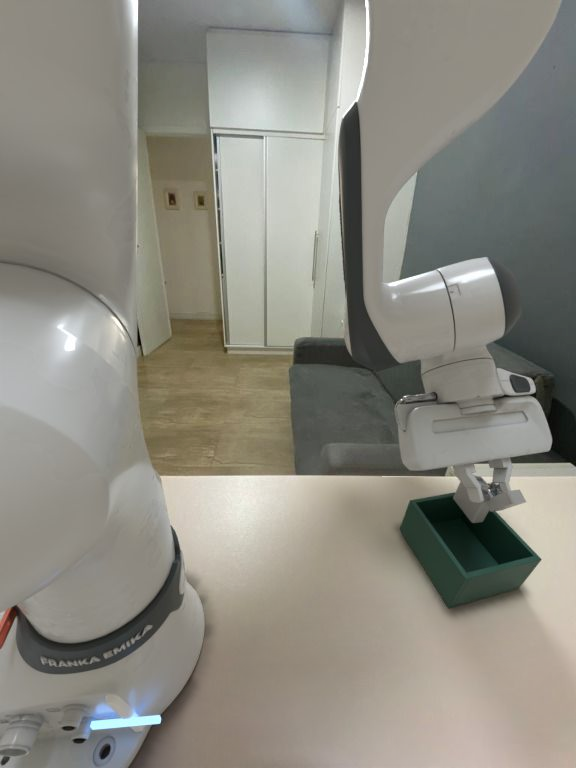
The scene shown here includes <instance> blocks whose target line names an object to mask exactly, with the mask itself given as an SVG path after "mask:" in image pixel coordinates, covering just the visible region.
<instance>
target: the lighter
mask: <svg viewBox="0 0 576 768" xmlns="http://www.w3.org/2000/svg"><path fill="white" fill-rule="evenodd" d="M473 475H474V477H475V478H476V479H477V481H478V482H479V483H480V485H481V486H487V487H488V491H489V493H488V494H489V495H490V501H487V502H483V503H474V502H471V501H470V499H469V496H468V492H467V488H466V487H465V486H464V485H463V484H462V483H461V481H460V480H459V484H458V486H457V488H456V490H455V491H454V492H455V495H454V497H453V499H454V500H455V502H456V503H457V504H458V506H459V507H460V508H461V509H462V511H463V512H464V513H465V515H466V516H467V517H468V519H469V520H470V521H471V522H472V523H478V522H483V521H484V519H485V517H486V515H487V513H488V512H489V510H490V512H492V511H496V512H499V511H500V512H501V511H505V510H507V509H511V508H513V507H516V506H518V505H522V504H524V503H527V501H526V498H525V496H524V495H523V493H522V491H521V489H514V490H511V491H506V492H504V493H501V494H499V495H496V496H493V495H492V494H491V493H490V489H489V488H490V486H489V485H488V484H487V483H488V482H486V480H485V479H484V478H483V477H482V476H481V475H480V476H478V475H475V474H473Z"/></svg>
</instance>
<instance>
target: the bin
mask: <svg viewBox="0 0 576 768" xmlns="http://www.w3.org/2000/svg"><path fill="white" fill-rule="evenodd" d="M455 492H456V491H454V492H448V493H443V494H437V495H431V496H427V497H421V498H416V499H410V500H409V503H408V505H407V507H406V509H405V510H406V511H405V512H404V516H403V518H402V521H401V524H400V526H399V530H400V532H401V533H402V535H403V537H404V538H405V540H406V542H407V543H408V545H409V547H410V548H411V550H412V552H413V553H414V555H415V556H416V558H417V559H418V561H419V563H420V565H421V566H422V568H423V570H424V571H425V572H426V574H427V576H428V578H429V580H430V581H431V583H432V584H433V586H434V587H435V589H436V591H437V592H438V594H439V596H440V597H441V599H442V600H443V602H444V604H445V605H446V607H447V608H448V609H450V608H453V607H458V606H461V605H464V604H467V603H472V602H475V601H478V600H482V599H486V598H489V597H492V596H496V595H500V594H504V593H507V592H510V591H514V590H518V589H520V588H521V587H522V586H523V584H524V583H525V582H526V581H527V579H528V578H529V577H530V576H531V574H532V573H533V571H534V570H535V569H536V568H537V566H538V565H539V564H540V563H541V561H542V560H543V559H542V558H541V557H540V556H539V554H537V553H536V552H535V550H533V548H532V547H530V545H529V544H528V543H527V542H526V541H525V540H524V539H523V538H522V537H521V536H520V535H519V534H518V533H517V532H516V531H515V530H514V529H513V528H512V526H510V524H509V523H508V522H506V521H505V519H504V518H503V517H502V516H501V515H500V514H499V513H498V511H492V512H490V510H489V512H488V513H487V515H486V517H485V519H484V521H483V522H478V523H472V522H471V521H470V520H469V519H468V517H467V516H466V515H465V513H464V512H463V511H462V509H461V508H460V507H459V506H458V504H457V503H456V502H455V500H454V499H453V497H454V495H455Z"/></svg>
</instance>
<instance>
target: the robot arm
mask: <svg viewBox="0 0 576 768" xmlns="http://www.w3.org/2000/svg"><path fill="white" fill-rule="evenodd" d="M562 2H563V0H365V8H366V9H365V10H366V48H365V57H364V65H363V70H362V76H361V80H360V84H359V88H358V91H357V96H356V98H355V100H354V101H353V102H352V103H351V105H350V106H349V107H348V108H347V110H346V111H345V113H344V114H343V115H342V117H341V121H340V125H339V126H340V127H339V134H338V145H337V172H338V174H337V175H338V193H339V194H338V210H339V211H338V212H339V226H340V238H341V239H340V240H341V241H340V243H341V255H342V256H341V257H342V271H343V272H342V273H343V282H344V296H345V297H344V298H345V300H344V307H343V316H342V333H343V339H344V344H345V347H346V349H347V351H348V353H349V355H350V356H351V359H352V361H354V362H355V363H357V364H359V365H361V366H363V367H365V368H366V369H369V370H371V371H374V372H377V373H379V372H382V371H385V370H388V369H392V368H394V367H399V366H402V365H403V364H406V363H410V362H414V361H419V360H420V361H419V362H420V377H421V381H422V384H423V390H424V393H420V394H406V395H403V396H402V397H401V399H399V400H398V401H397V402H396V404H395V406H394V411H393V412H394V417H395V420H396V424H397V430H398V431H397V432H398V445H399V446H398V447H399V453H400V459H401V462H402V464H403V466H404V467H405V468H406V469H408V471H412V472H413V471H415V472H420V471H421V472H422V471H430V470H437V469H443V468H450V467H452V470H453V474H454V475H455V477H456V478H457V479H458V480H459V482H460V481H461V483H462V484H463V485H464V486H465V487H466V488H467V492H468V496H469V499H470V501H471V502H474V503H483V502H487V501H490V495H489V494H488V493H489V492H490V493H491V494H492V495H493V496H496V495H499V494H501V493H504V492H506V491H512V490H511V489H512V488H511V485H510V481H511V476H512V472H513V467H514V466H513V462H512V459H511V458H514V457H520V456H521V457H522V456H528V455H533V454H541V453H546V452H550V450H551V448H552V444H553V436H552V432H551V429H550V426H549V423H548V420H547V417H546V415H545V411H544V410H543V407H542V405H541V403H540V402H539V401H538V399H537V398H536V397H534V396H533V395H534V394H535V393H536V391H537V389H536V388H537V387H536V385H535V382H534V380H533V379H532V378H531V377H530V376H529V377H528V376H526V375H521V374H518V373H514V372H511V371H509V370H506V369H503V368H501V367H496V362H495V360H494V358H493V356H492V354H491V353H490V352H489V349H488V347H487V345H489V344H492V343H493V342H497V341H500V340H501V339H503V338H504V337H505V336H507V334H508V333H509V332H510V331H511V330H512V329H513V327H514V326H515V325H516V323H517V322H518V320H519V318H520V317H521V316H522V313H523V302H522V301H523V300H522V297H521V293H520V290H519V286H518V283H517V280H516V278H515V276H514V274H513V272H512V271H511V270H510V269H509V268H508V267H507V266H505V265H504V264H502V263H501V262H500V261H497V260H495V259H494V258H491V257H489V256H488V257H487V256H482V257H476V258H471V259H467V260H462V261H458V262H455V263H451V264H448V265H444V266H442V267H439V268H438V267H437V268H435V269H434V270H430V271H427V272H424V273H420V274H417V275H413V276H410V277H405V278H402V279H399V280H396V281H391V282H383V273H384V249H385V248H384V244H385V225H386V218H387V215H388V212H389V209H390V207H391V205H392V203H393V201H394V200H395V198H396V196H397V195H398V193H399V192H400V191H401V190H402V188H403V187H404V186H405V185H406V184H407V183H408V182H409V181H410V179H411V178H413V176H414V175H415V174H416V173H418V171H420V170H421V169H422V168H423V167H424V166H425V165H426V164H427V163H428V162H430V160H432V159H433V158H434V157H435V156H436V155H437V154H439V153H440V152H441V151H443V149H445V148H446V147H447V146H448V145H450V144H451V143H452V142H454V141H455V140H456V139H457V138H459V137H460V136H462V134H464V133H465V132H466V131H468V129H470V128H472V126H473V125H474V124H476V123H477V122H478V121H479V120H481V119H482V118H483V116H485V114H487V113H488V112H489V111H490V110H491V109H492V108H493V107H494V106H495V105H496V104H497V103H498V102H499V101H500V99H501V98H503V96H504V95H505V94H506V93H507V92H508V91H509V90H510V88H511V87H512V86H513V85H514V84H515V82H516V81H517V80H518V79H519V78H520V77H521V75H522V74H523V72H524V71H525V69H526V68H527V67H528V65H529V64H530V63H531V61H532V60H533V58H534V57H535V55H536V54H537V52H538V50H539V49H540V47H541V45H542V44H543V43H544V40H545V39H546V38H547V36H548V33H549V32H550V30H551V28H552V26H553V25H554V23H555V20H556V19H557V15H558V13H559V11H560V7H561V5H562ZM138 123H139V0H0V768H129V767H130V765H132V763H133V761H134V759H135V758H136V756H137V754H138V753H139V751H140V749H141V747H142V746H143V744H144V741H145V739H146V737H147V735H148V734H149V732H150V729H151V728H152V727H153V725H159V724H161V721H162V717H161V715H162V714H163V713H164V712H165V711H166V710H167V709H168V707H169V706H170V705H171V704H172V703H173V702H174V701H175V699H176V698H177V697H178V696H179V695H180V693H181V692H182V690H183V689H184V687H185V686H186V685H187V682H188V681H189V679H190V678H191V676H192V674H193V672H194V670H195V667H196V666H197V663H198V660H199V658H200V655H201V652H202V648H203V644H204V638H205V629H206V621H205V620H206V618H205V611H204V607H203V603H202V600H201V598H200V596H199V594H198V592H197V591H196V589H195V588H194V587H193V585H191V584H190V582H189V581H187V569H186V564H185V563H186V562H185V558H184V553H183V550H182V549H181V544H180V541H179V537H178V534H177V532H176V530H175V529H174V527H173V525H172V524H171V521H170V517H169V511H168V510H169V509H168V505H167V501H166V496H165V491H164V487H163V481H162V478H161V476H160V475H159V472H158V471H157V470H156V469H155V468H154V466H153V464H152V460H151V457H150V454H149V451H148V446H147V443H146V439H145V435H144V430H143V424H142V419H141V408H140V407H141V406H140V399H139V380H138V183H139V182H138V181H139V180H138V177H139V176H138V175H139V174H138V173H139V172H138V168H139V167H138V165H139V164H138V163H139V161H138V160H139V158H138V157H139V124H138ZM481 462H482V463H483V462H487V463H488V467H489V468H490V469H493V471H492V482H486V483H487V484H488V485H489V486H490V488H489V489H488V487H487V486H481V485H480V483H479V482H478V481H477V479H476V478H475V477H474V475H475V474H474V473H476V472H477V469H476V465H475V463H481ZM488 490H489V491H488ZM107 747H110V750H109V753H108V755H107V756H106V757H105V758H102V755H103V752H104V751H105V749H106V748H107Z"/></svg>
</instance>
